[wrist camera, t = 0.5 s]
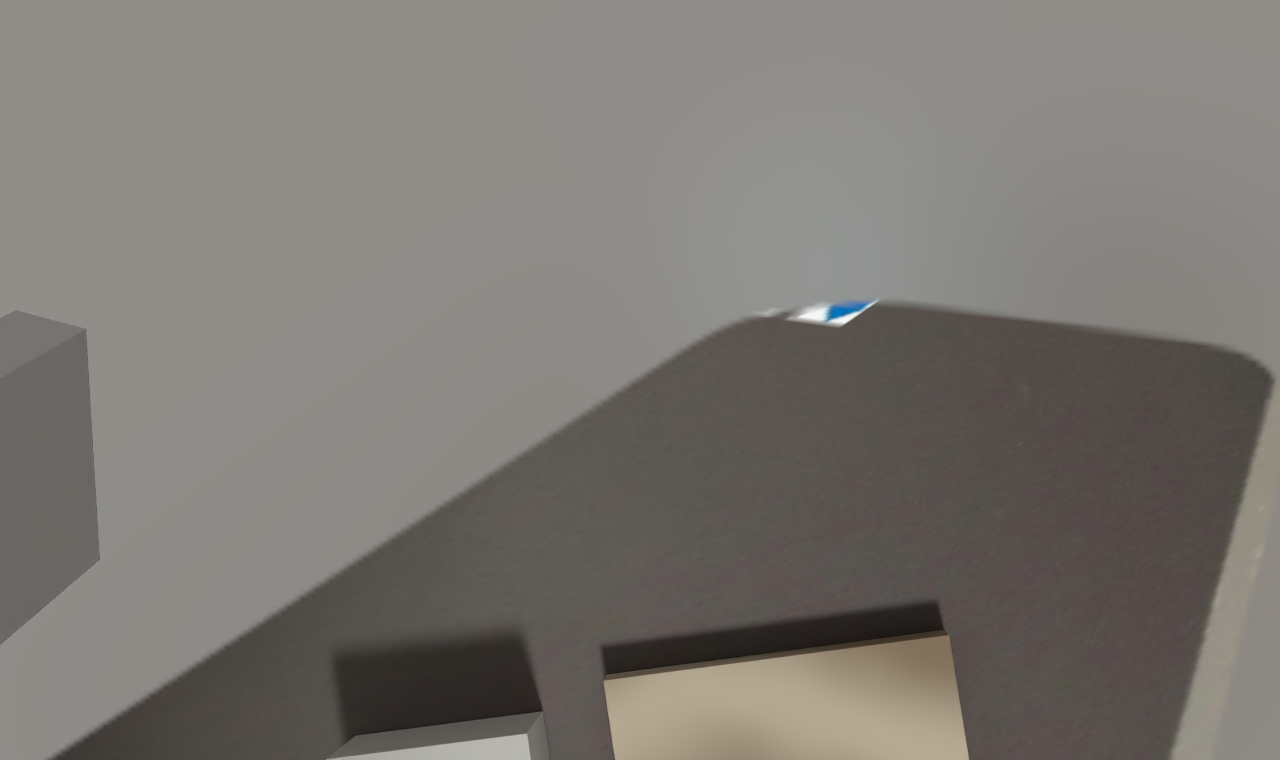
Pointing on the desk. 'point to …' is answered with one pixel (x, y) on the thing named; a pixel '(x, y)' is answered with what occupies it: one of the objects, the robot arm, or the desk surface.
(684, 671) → the birch board
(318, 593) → the desk surface
